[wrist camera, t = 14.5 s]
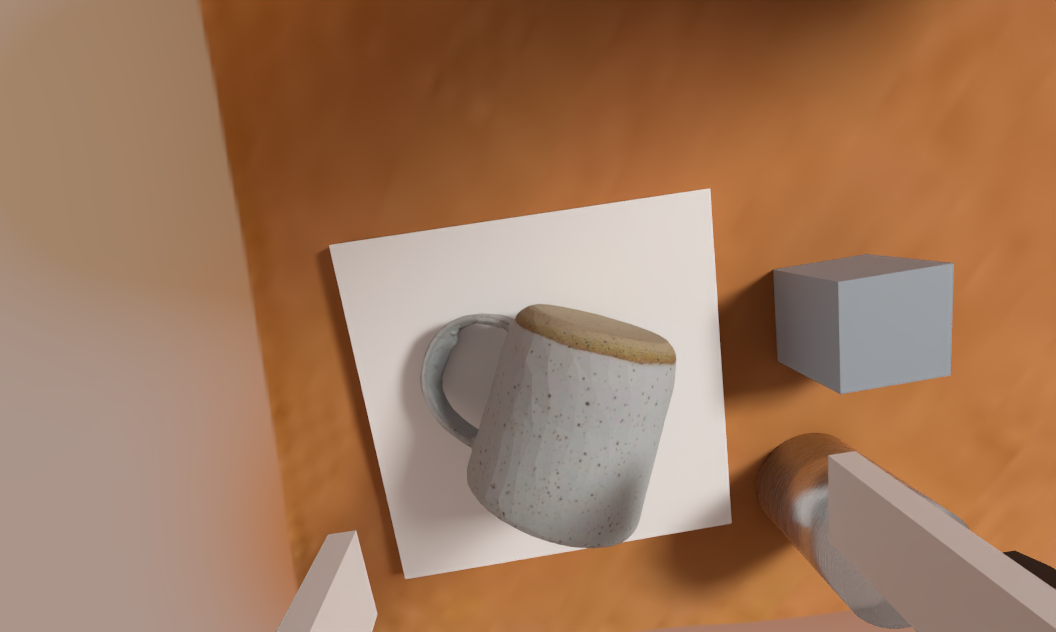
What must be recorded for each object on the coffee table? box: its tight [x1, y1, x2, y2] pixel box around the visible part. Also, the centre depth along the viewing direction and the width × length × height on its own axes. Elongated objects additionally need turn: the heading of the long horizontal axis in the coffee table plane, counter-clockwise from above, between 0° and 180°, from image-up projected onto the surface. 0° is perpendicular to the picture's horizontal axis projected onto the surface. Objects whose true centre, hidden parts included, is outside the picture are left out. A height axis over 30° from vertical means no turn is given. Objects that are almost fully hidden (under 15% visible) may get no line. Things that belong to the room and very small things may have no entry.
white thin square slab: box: [329, 189, 732, 579], centre depth 25 cm, size 18×18×1 cm
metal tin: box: [756, 433, 970, 629], centre depth 24 cm, size 6×6×7 cm
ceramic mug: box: [420, 304, 676, 548], centre depth 21 cm, size 11×8×8 cm
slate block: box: [773, 254, 954, 394], centre depth 23 cm, size 5×5×5 cm
